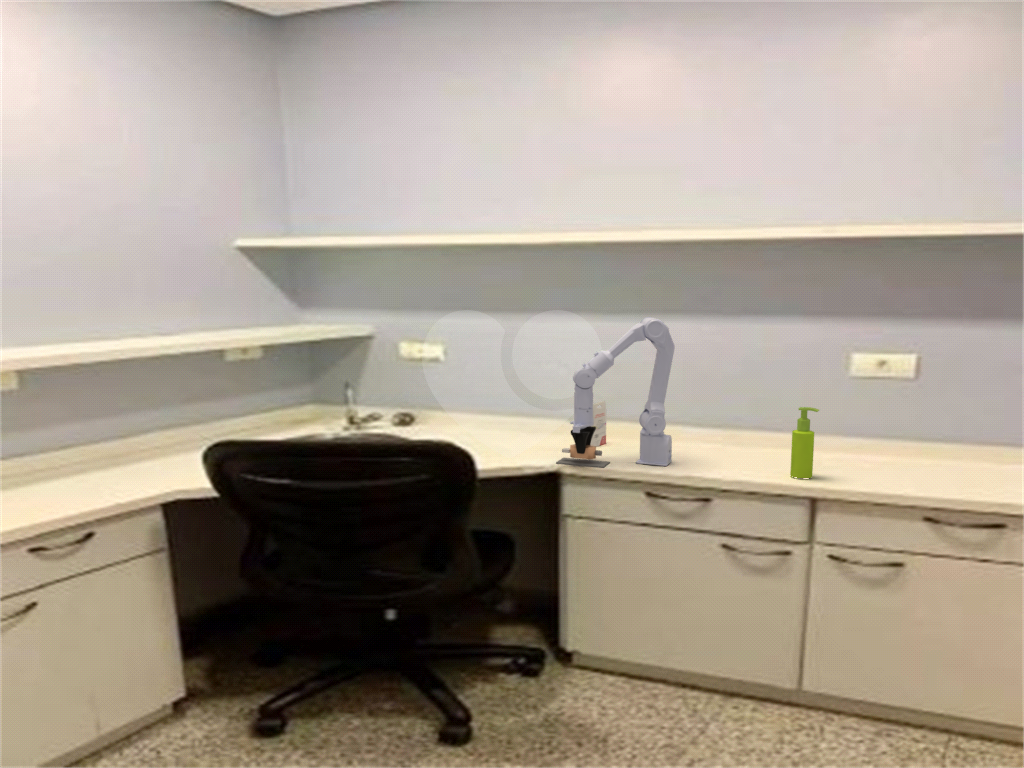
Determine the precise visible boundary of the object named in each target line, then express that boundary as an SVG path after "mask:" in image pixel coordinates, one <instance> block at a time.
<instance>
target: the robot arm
mask: <svg viewBox="0 0 1024 768" xmlns="http://www.w3.org/2000/svg"><path fill="white" fill-rule="evenodd" d="M669 329H670V328H669V326H667V325H666V324H665V323H664V321H662V320H661V319H660V318H655V317H652V316H645V317H643V318H642V319H641V320H640V322H637V323H636V324H634V325H632V327H630V329H628V330H627V331H626V332H625V333H623V335H622V336H621V337H620V338H619V339H618V340H616V342H614V343H613V344H612V345H611V346H610V347H609V348H608V349H607V350H602V349H601V350H600V351H595V352H594V353H593V355H594V356H593V357H591V359H589V360H588V361H587V362H586V363H585V362H584V363H582V364H581V366H582V367H579V368H577V369H576V370H575V371H574V374H573V376H572V381H573V383H574V394H573V397H574V398H573V420H571V421H570V422H569V424H570V425H572V429H571V430H570V435H571V436H572V438H573V442H574V444H575V445H576V450H577V453H578V454H584V453H585V449H586V445H590V444H591V440H592V436H593V434H594V432H595V430H596V427H591V426H593V425H594V418H593V404H594V392H593V387H594V385H595V382H596V380H597V379H599V378H600V377H601V376H602V375H604V374H605V373H606V372H607V371H608V370H609V369H611V367H614V364H615V359H616V358H617V357H618V356H619V355H620V354H622V353H623V352H624V351H626V350H627V349H629V347H631V346H632V345H634V343H637V342H642V341H646V340H648V341H649V342H651V344H652V345H653V347H654V348H655V349H656V353H655V359H654V363H653V364H654V365H653V370H652V376H651V380H650V386H649V390H648V391H649V392H648V395H647V401H646V403H645V404H644V408H643V411H642V412H641V413H640V415H639V417H638V420H639V421H638V422H639V424H640V427H642V428H641V430H640V431H639V459H637V460H636V461H635V464H641V465H652V466H662V467H663V466H664V467H667V466H668V465H669V464H670V463H671V462H672V456H673V455H672V451H673V450H672V449H673V447H672V446H673V440H672V439H673V438H672V436H671V435H669V434H665V429H666V424H667V423H666V419H665V413H666V410H665V400H666V396H667V390H668V385H669V379H670V375H671V374H670V373H671V369H672V363H673V358H674V354H675V343H674V340H673V338H672V335H671V333H670V330H669Z"/></svg>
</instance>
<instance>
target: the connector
mask: <svg viewBox="0 0 1024 768" xmlns="http://www.w3.org/2000/svg"><path fill="white" fill-rule="evenodd" d="M561 453H563V454H564V453H565V454H569V458H575V459H587V460H596V458H597V456H600V457H602V455H603V451H602V450H599V449H597V447H596V446H592V445H586V449H585V453H584V454H578V453H577V450H576V445H575V443H574V444H570V445H569V447H563V448H561Z"/></svg>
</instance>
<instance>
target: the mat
mask: <svg viewBox="0 0 1024 768" xmlns="http://www.w3.org/2000/svg"><path fill="white" fill-rule="evenodd" d="M555 464H557V465H558V464H559V465H567V466H568V465H569V466H579V467H589V468H599V469H601V468H602V469H605V467H607V466H608V465H609V464H611V461H610V460H609V461H606V460H597V459H580V458H572V457H561V458H560V459H559V460H557V461H556V462H555Z"/></svg>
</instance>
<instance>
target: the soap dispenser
mask: <svg viewBox="0 0 1024 768" xmlns="http://www.w3.org/2000/svg"><path fill="white" fill-rule="evenodd" d="M798 411H800V417H798V418H797V420H796V421H797V422H796V423H797V425H796V426H797V427H796V429H794V430H792V431H791V448H790V449H791V456H790V474H789V475H791V476H793V477H797V478H811V477H812V478H813V472H814V471H813V470H814V468H813V467H814V446H815V432H814V431H813V430H811V419H810V418H808V411H810V412H815V413H818V412H820V409H818V408H815V407H808V406H800V407H798ZM791 476H790V477H791Z"/></svg>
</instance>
